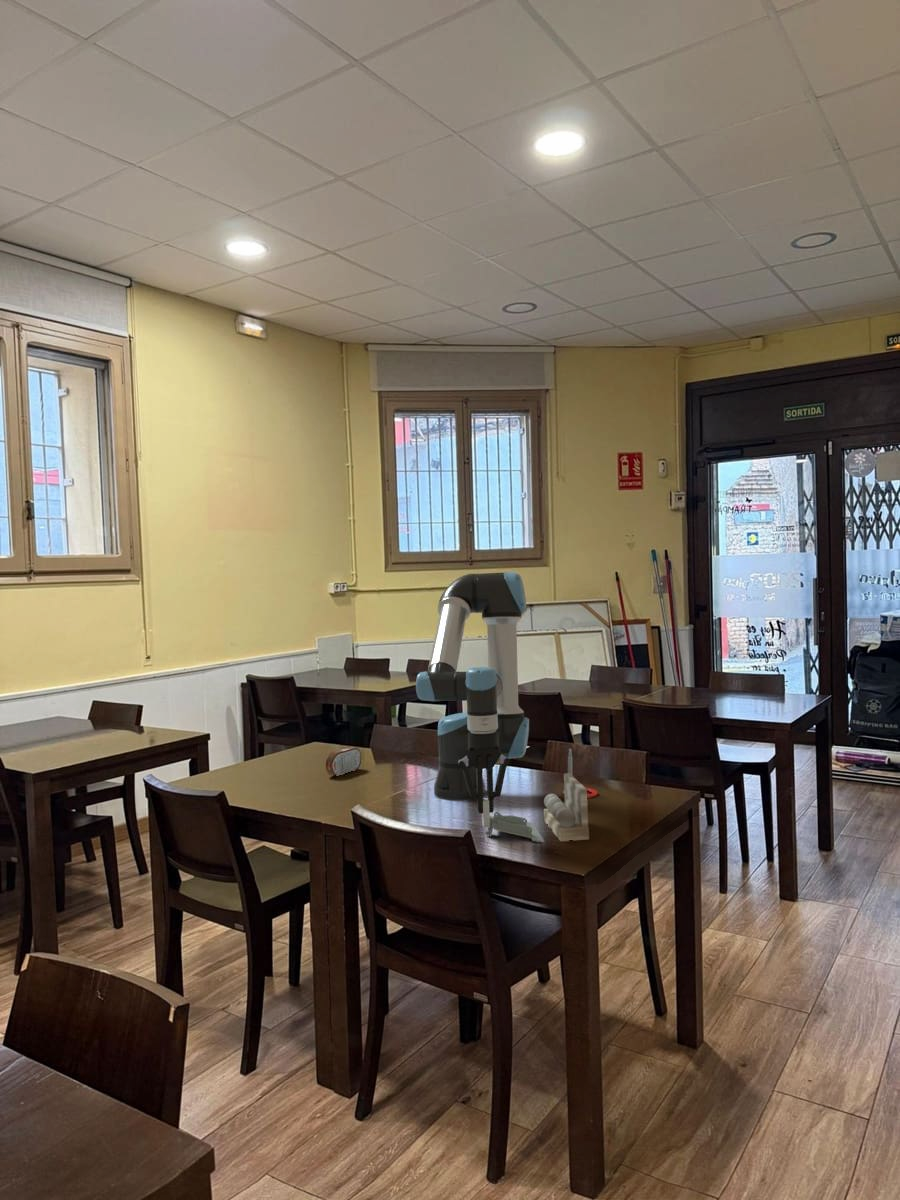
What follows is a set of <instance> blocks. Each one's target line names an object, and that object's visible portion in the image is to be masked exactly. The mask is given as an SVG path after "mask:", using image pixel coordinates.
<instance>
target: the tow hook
mask: <svg viewBox="0 0 900 1200" xmlns="http://www.w3.org/2000/svg"><path fill="white" fill-rule="evenodd" d="M572 751H573V750H572V748H569V749H568V756H567V773H570V774H571V775H572V776H573V777H574V775H573V755H572ZM585 788H586V789H587V791H589V792H592V794H591V793H589V792H588V793H589V794H587V797H593V796H596V795H597V794H598V791H597V790H596V789H593V788H588V787H585ZM563 794H564V789H563V790H562V791H561V795H563ZM597 796H598V795H597ZM597 796H596V797H597Z"/></svg>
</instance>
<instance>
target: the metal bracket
mask: <svg viewBox="0 0 900 1200" xmlns="http://www.w3.org/2000/svg"><path fill="white" fill-rule="evenodd" d="M536 828H537V827H536V825H535V824H533V822H529V821H528V820H527V818H526V817H521V816H516V815H512V814H511V815H510V814H509V815H508V814H507V815H503V814H502V813H500V812H499V811H495V812H493V815H490V827H487V831H486V830H485V831H484V835H486V836H488V835H489V836H490V837H492V834H493V830H494V831H499V832H501V833H502V832H503V833H506V834H511V835H516V836H520V837H524V838H529V839H531V840H532V842H536V843H540V842H541V844H543V843H542V842H545V840H544V838H543V837H542V835H541V833H540V832H539V830H538V828H537V829H536ZM539 833H540V834H539ZM489 836H488V837H489Z"/></svg>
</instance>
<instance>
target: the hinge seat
mask: <svg viewBox="0 0 900 1200" xmlns="http://www.w3.org/2000/svg"><path fill="white" fill-rule="evenodd" d="M572 775H573V774H572ZM572 775H571V774H570V773H568V772H566V773H563V782H564V783H563V785H564V787H563V790H564V794H565V795H564V801H562V800H561V798H559V796H558V795H557V794H556V793H548V794H547V795H546V796H544V799H543V805H544V806H545V807H546V808H544V809H543V821H544V822H545V824H546V825H547V824H548V825H547V826H548V828H549V829H550V828H551V829H552V830H551V829H550V830H551V831H552V832H553V834H554V835H555V836H556V838H557V837H558V838H557V839H558V840H559V842H570V841H569V840H573V841H583V840H586V841H587V840H590V831H589V828H590V827H589V814H588V809H589V808H588V799H587V795H588V792H587V789H586V788H587V787H585V786H584V785H583V784H582V783H581V782H579V781H578V779H576V778H575V776H574V775H573V776H572Z"/></svg>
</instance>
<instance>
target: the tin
mask: <svg viewBox="0 0 900 1200" xmlns="http://www.w3.org/2000/svg"><path fill="white" fill-rule="evenodd" d="M325 761H326V762H325V769H326V773H327V774H328V776H331V775H334V777H336V776H335V775H339V774H343V773H346V772H349V771H353V770H356V771H358V769H359V768H360V766H361V764H362V752H361V750H360V749H359V748H357V747H355V746H351V745H350V746H346V747H342V748H340V749H339V748H338V749H335V750H332V751H331V752H330V753H329V754H328V755H327V758H326V760H325Z"/></svg>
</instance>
